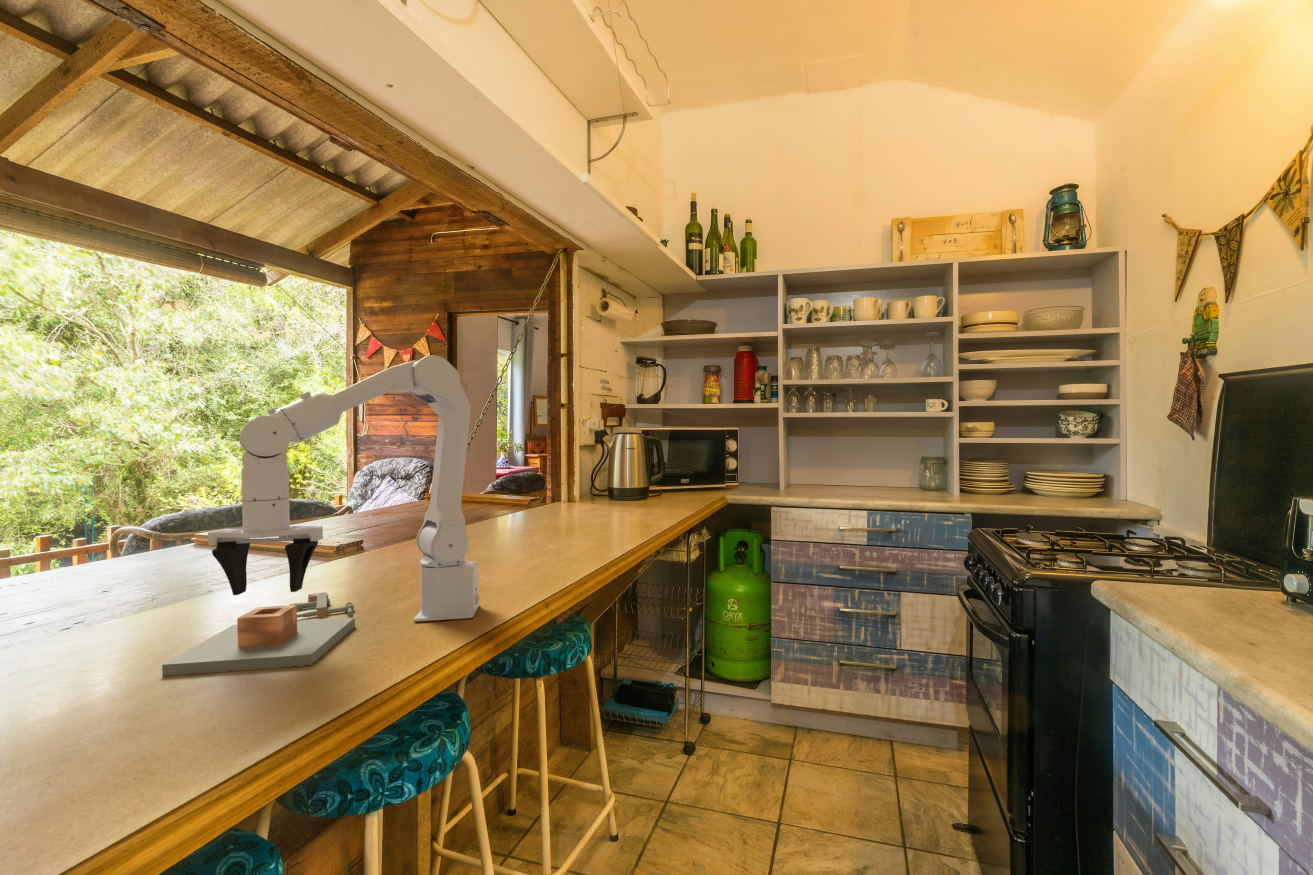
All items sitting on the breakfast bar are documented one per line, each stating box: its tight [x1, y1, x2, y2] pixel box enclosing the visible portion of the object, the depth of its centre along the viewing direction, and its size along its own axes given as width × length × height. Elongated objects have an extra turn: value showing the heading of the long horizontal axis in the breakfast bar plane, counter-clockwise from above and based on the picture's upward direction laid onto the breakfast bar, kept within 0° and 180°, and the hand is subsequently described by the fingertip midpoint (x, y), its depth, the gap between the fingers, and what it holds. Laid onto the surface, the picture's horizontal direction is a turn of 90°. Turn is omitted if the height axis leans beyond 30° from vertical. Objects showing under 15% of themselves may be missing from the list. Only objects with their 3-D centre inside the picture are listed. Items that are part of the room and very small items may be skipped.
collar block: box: [236, 604, 298, 647], centre depth 84 cm, size 5×5×4 cm
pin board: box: [161, 617, 356, 677], centre depth 84 cm, size 18×16×4 cm
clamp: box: [289, 592, 355, 619], centre depth 102 cm, size 15×2×10 cm
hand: (268, 591), depth 84 cm, fingers open, 7 cm apart
